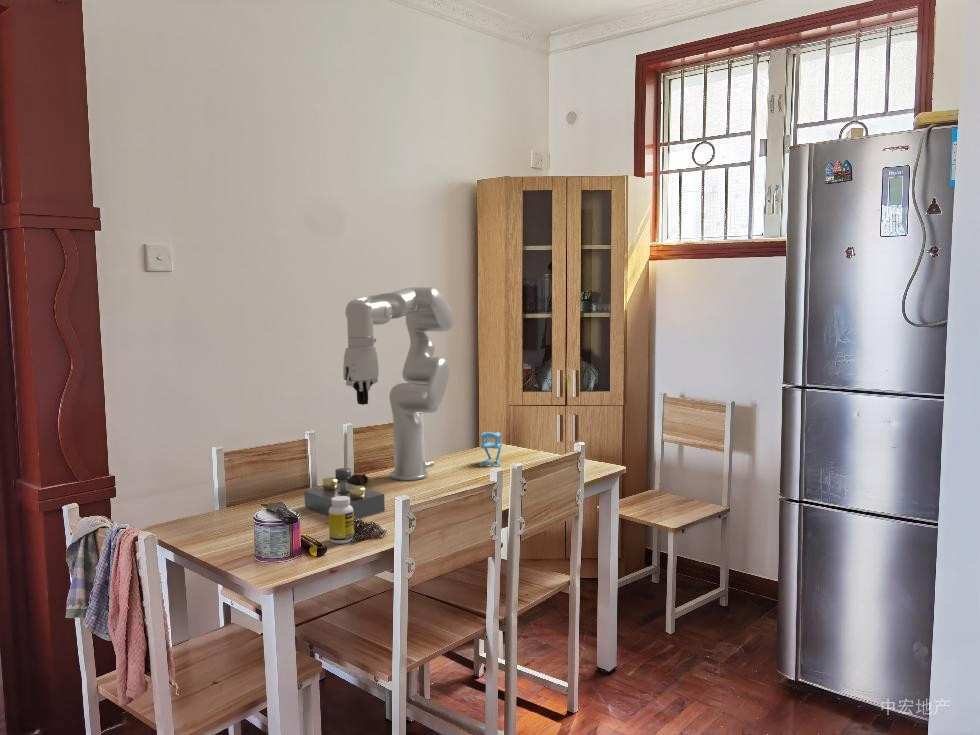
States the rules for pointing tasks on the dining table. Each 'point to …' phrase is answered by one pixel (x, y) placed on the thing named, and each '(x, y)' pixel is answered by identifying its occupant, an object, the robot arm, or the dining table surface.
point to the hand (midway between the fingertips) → (362, 403)
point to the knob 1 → (330, 483)
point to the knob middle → (343, 478)
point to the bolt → (357, 480)
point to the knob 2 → (357, 492)
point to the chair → (491, 446)
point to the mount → (361, 507)
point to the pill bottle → (341, 520)
